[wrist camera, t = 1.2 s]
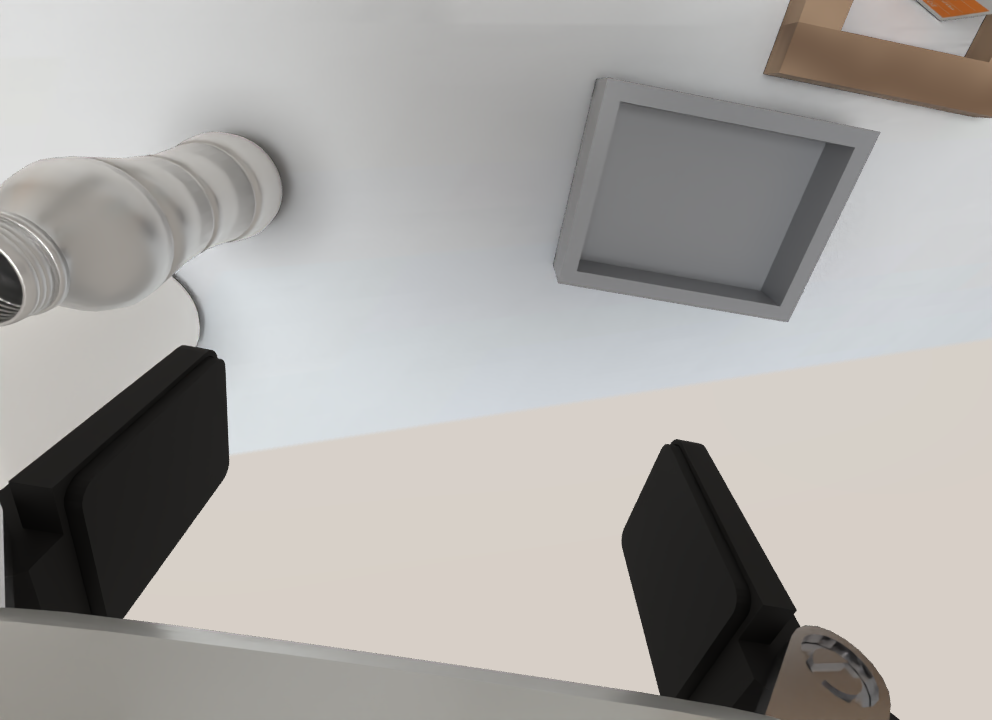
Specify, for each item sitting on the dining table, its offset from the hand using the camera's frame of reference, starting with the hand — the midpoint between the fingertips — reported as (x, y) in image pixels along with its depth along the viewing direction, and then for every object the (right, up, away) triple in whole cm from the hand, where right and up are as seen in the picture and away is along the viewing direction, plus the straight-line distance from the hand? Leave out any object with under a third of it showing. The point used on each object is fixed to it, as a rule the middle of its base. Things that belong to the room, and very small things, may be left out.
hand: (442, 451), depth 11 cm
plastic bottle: (-16, +14, +24) cm, 32 cm away
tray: (+14, +13, +24) cm, 31 cm away
